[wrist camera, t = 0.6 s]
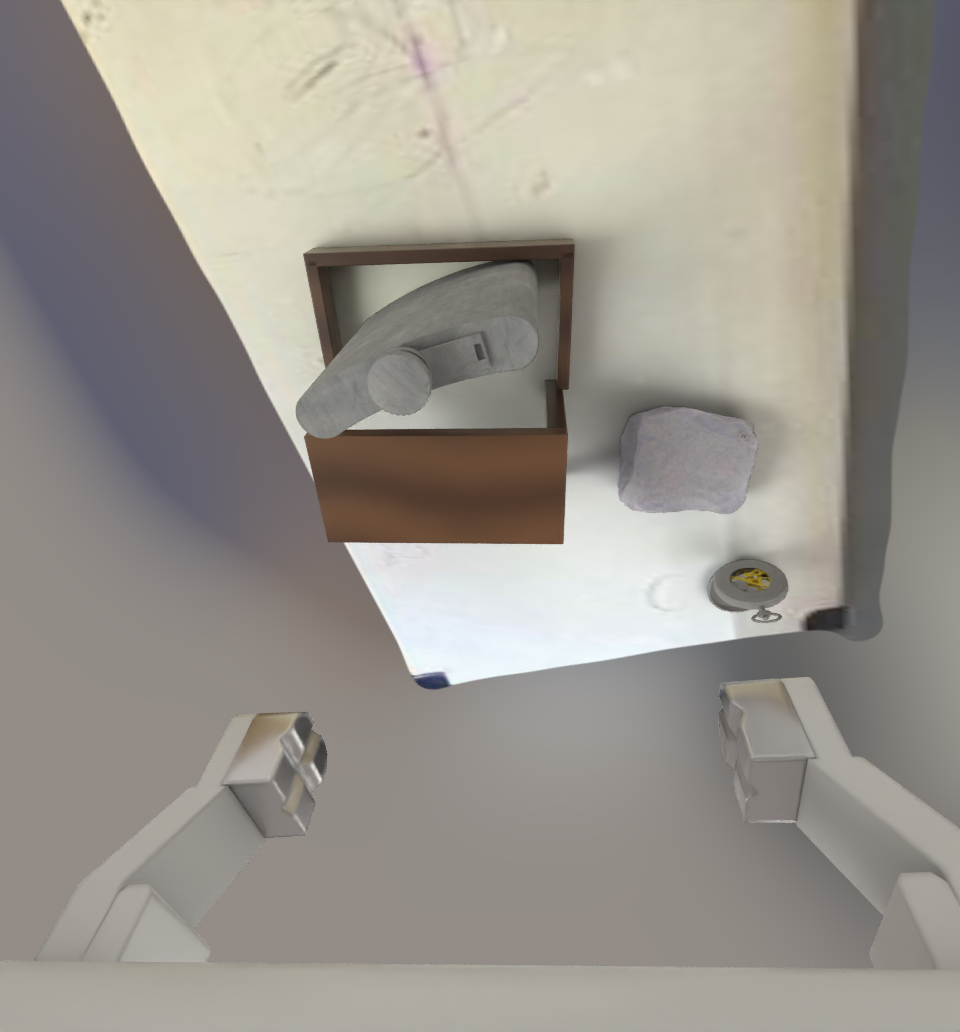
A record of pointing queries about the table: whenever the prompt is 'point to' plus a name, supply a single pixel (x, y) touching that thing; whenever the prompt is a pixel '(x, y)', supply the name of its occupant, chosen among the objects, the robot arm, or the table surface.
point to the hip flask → (428, 346)
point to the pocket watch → (748, 588)
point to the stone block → (685, 461)
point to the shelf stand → (444, 435)
